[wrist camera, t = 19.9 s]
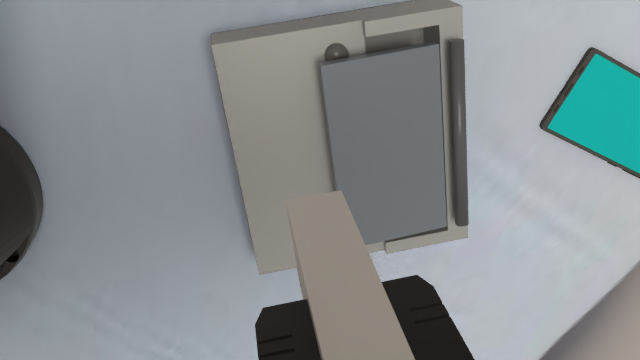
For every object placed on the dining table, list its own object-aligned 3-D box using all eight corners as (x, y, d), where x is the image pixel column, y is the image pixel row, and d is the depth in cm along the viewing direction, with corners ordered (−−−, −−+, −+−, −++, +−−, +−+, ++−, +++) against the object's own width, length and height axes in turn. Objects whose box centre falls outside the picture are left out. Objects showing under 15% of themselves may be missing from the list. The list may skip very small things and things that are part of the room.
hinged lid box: (256, 250, 50) (259, 279, 47) (211, 33, 42) (211, 47, 39) (449, 212, 52) (467, 237, 48) (440, -4, 44) (462, 5, 40)
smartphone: (593, 47, 47) (723, 121, 52) (587, 44, 48) (716, 118, 53) (539, 129, 49) (668, 193, 54) (534, 125, 50) (662, 188, 55)
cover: (342, 244, 46) (346, 253, 45) (318, 63, 40) (322, 68, 38) (463, 216, 47) (470, 224, 46) (458, 36, 41) (466, 40, 40)
